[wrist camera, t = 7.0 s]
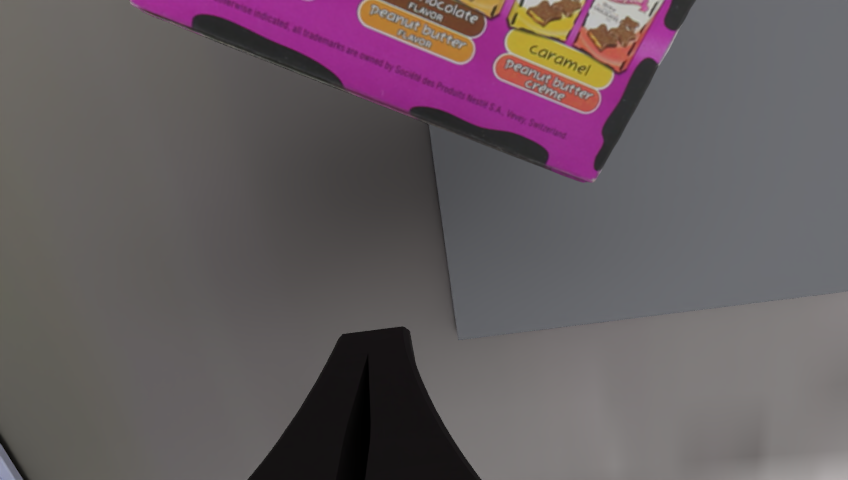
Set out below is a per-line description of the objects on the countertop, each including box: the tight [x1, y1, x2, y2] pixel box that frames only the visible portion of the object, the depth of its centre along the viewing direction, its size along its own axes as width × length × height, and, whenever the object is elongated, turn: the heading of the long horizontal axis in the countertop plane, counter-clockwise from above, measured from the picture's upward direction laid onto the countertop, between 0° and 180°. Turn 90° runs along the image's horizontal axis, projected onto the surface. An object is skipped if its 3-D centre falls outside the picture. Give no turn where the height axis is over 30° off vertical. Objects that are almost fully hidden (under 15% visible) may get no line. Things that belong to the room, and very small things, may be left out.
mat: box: [429, 0, 848, 340], centre depth 21 cm, size 15×13×1 cm
